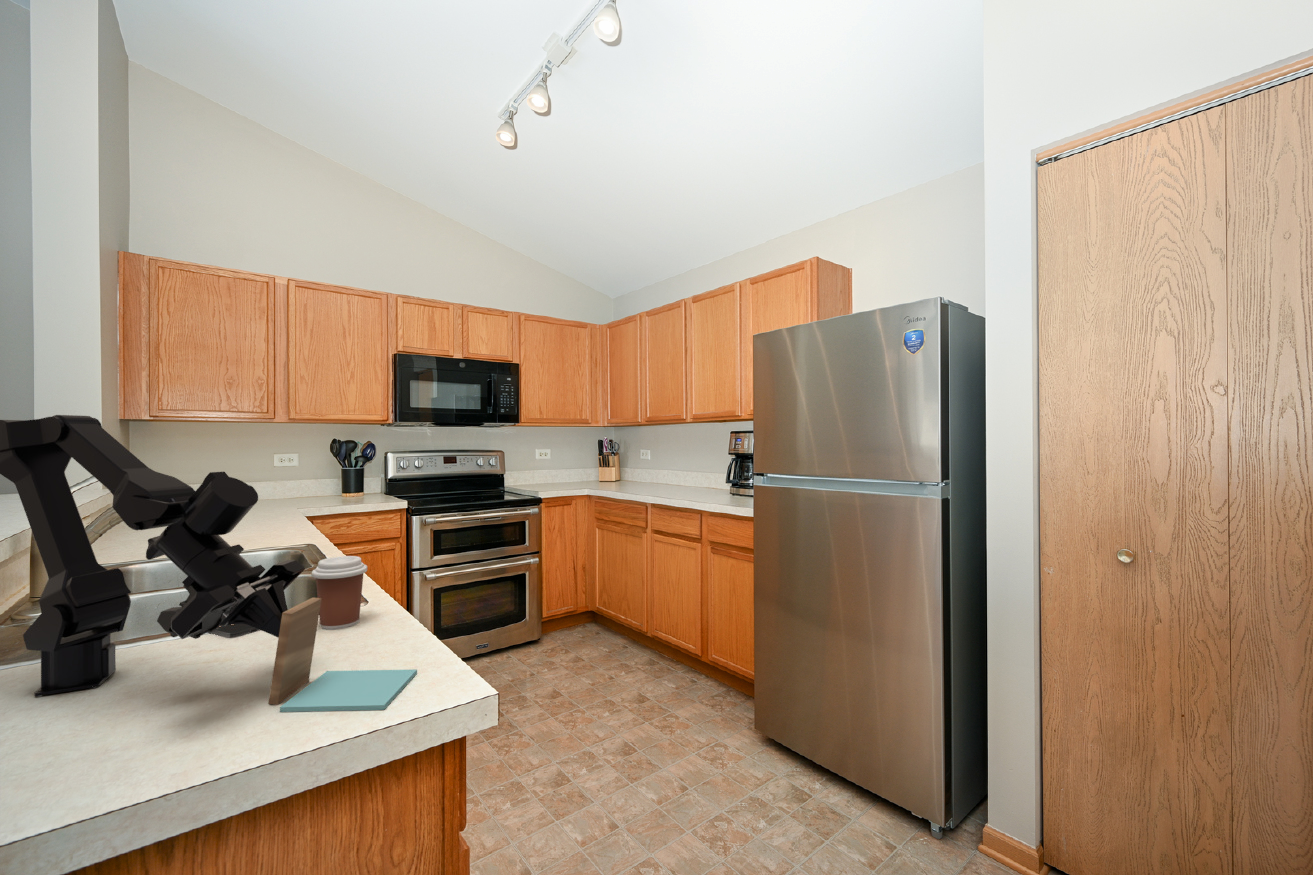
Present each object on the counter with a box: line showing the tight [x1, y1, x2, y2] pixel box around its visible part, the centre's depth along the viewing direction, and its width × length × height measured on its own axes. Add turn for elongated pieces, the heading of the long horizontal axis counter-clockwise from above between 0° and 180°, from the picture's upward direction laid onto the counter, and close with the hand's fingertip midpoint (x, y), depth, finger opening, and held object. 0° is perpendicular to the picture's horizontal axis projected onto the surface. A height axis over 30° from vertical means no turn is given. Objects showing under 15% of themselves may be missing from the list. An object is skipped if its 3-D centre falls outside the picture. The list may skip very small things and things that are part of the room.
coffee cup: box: [311, 555, 368, 631], centre depth 104 cm, size 9×9×12 cm
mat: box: [279, 669, 418, 713], centre depth 77 cm, size 13×11×1 cm
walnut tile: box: [267, 597, 321, 706], centre depth 76 cm, size 1×7×12 cm, turn 2°
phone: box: [207, 615, 261, 639], centre depth 103 cm, size 8×1×15 cm
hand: (290, 637), depth 76 cm, fingers closed
